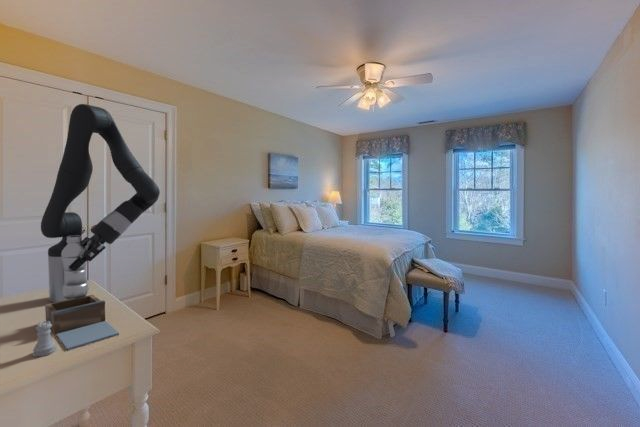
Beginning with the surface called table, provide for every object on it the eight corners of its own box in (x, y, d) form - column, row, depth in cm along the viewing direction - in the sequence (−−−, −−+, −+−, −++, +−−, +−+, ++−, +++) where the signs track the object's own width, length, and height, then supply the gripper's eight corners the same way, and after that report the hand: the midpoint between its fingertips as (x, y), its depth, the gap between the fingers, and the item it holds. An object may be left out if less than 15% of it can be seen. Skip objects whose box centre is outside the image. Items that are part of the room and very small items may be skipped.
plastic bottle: (74, 302, 92) (72, 238, 90) (56, 300, 93) (54, 237, 92) (94, 295, 98) (93, 235, 97) (77, 293, 100) (75, 234, 98)
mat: (56, 335, 87) (56, 333, 87) (105, 322, 96) (105, 320, 96) (67, 350, 80) (67, 348, 80) (118, 334, 89) (118, 332, 89)
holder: (45, 322, 95) (45, 301, 94) (93, 311, 105) (92, 292, 104) (55, 335, 87) (54, 312, 87) (105, 321, 97) (105, 301, 96)
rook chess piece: (29, 358, 75) (28, 328, 75) (37, 349, 79) (36, 320, 79) (51, 355, 77) (51, 325, 77) (58, 347, 81) (58, 318, 81)
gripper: (95, 217, 104) (51, 256, 96) (110, 222, 95) (63, 264, 87) (113, 231, 109) (72, 269, 100) (128, 236, 100) (85, 278, 91)
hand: (68, 267), depth 94 cm, fingers closed on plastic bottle, 6 cm apart
